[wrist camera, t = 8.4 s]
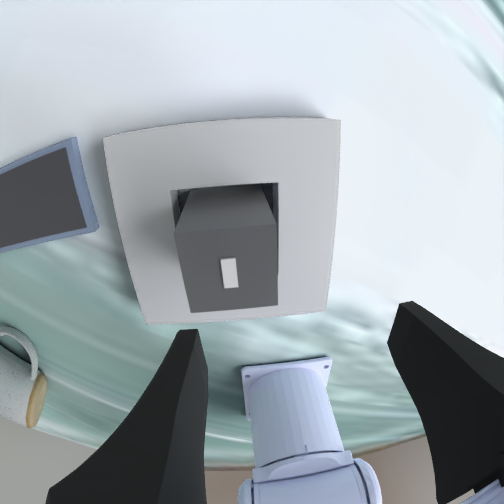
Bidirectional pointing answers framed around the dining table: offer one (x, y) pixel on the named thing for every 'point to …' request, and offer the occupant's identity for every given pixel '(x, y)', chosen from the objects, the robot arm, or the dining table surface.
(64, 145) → the phone
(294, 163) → the outlet plate
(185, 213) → the block
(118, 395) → the dining table surface
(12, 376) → the ceramic mug
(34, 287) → the dining table surface
